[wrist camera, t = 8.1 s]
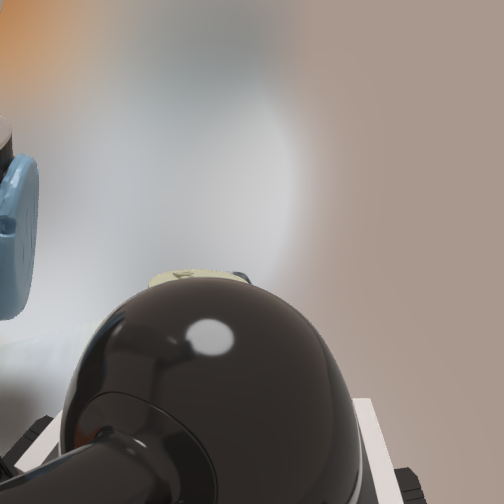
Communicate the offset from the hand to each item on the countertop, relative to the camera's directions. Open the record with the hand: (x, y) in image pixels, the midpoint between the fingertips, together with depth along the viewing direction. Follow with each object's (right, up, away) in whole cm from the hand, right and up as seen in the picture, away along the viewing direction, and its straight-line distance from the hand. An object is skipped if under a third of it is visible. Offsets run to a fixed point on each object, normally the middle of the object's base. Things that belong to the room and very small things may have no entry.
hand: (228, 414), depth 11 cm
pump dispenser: (-1, -9, -2) cm, 9 cm away
